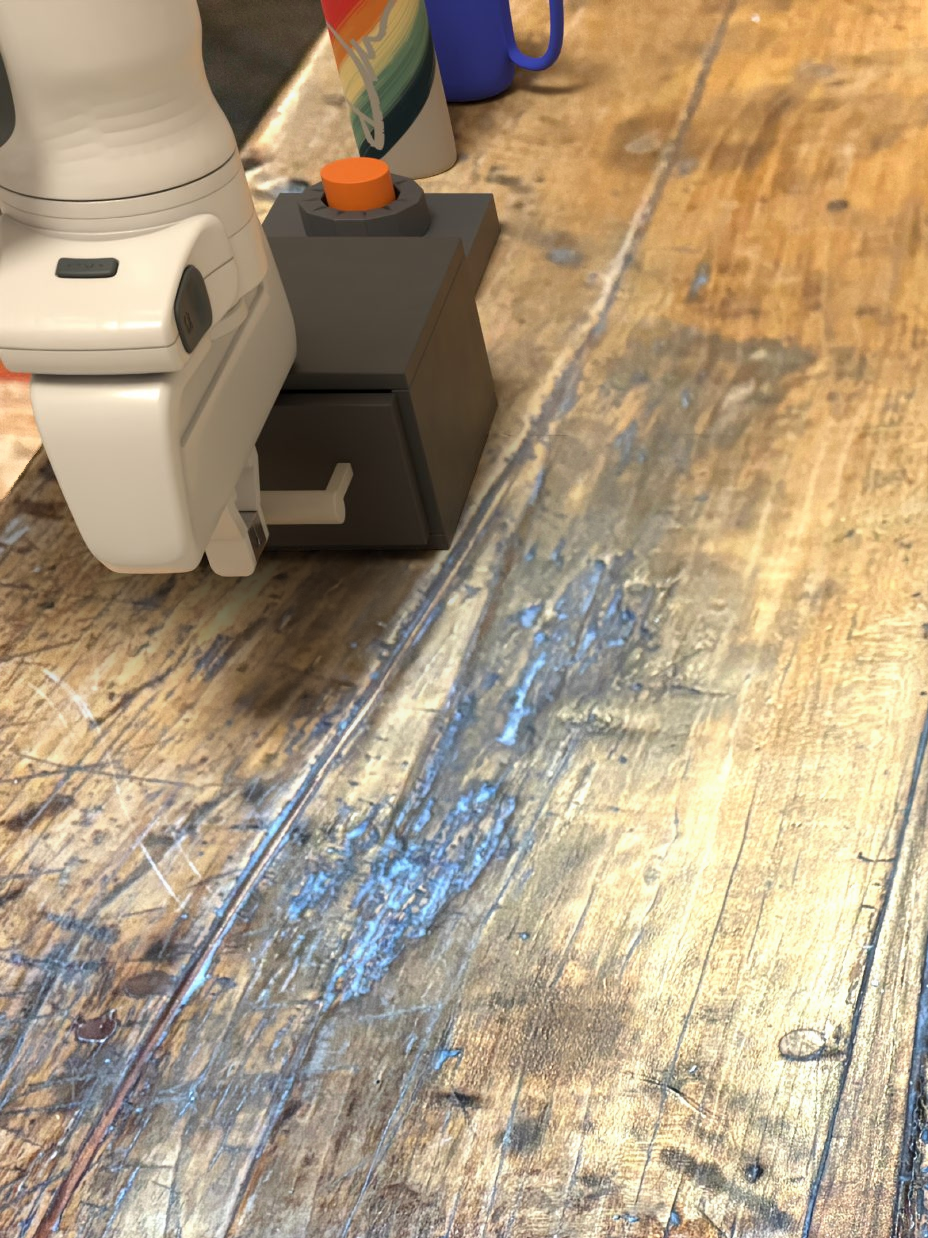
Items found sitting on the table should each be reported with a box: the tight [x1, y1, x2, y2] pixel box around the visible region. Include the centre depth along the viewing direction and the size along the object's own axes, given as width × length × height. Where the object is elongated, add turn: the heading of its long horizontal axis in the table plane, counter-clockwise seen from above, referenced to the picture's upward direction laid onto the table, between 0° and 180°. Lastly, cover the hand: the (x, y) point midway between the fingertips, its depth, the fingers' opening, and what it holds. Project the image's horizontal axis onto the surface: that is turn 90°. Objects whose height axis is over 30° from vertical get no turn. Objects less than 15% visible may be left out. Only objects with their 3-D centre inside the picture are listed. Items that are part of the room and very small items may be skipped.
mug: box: [424, 0, 565, 103], centre depth 140 cm, size 8×12×10 cm
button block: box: [261, 173, 502, 297], centre depth 124 cm, size 12×10×4 cm
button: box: [319, 156, 396, 211], centre depth 122 cm, size 4×4×2 cm
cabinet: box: [262, 237, 499, 552], centre depth 106 cm, size 15×13×9 cm
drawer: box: [255, 389, 431, 546], centre depth 103 cm, size 18×11×7 cm, turn 4°
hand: (243, 559), depth 96 cm, fingers closed
